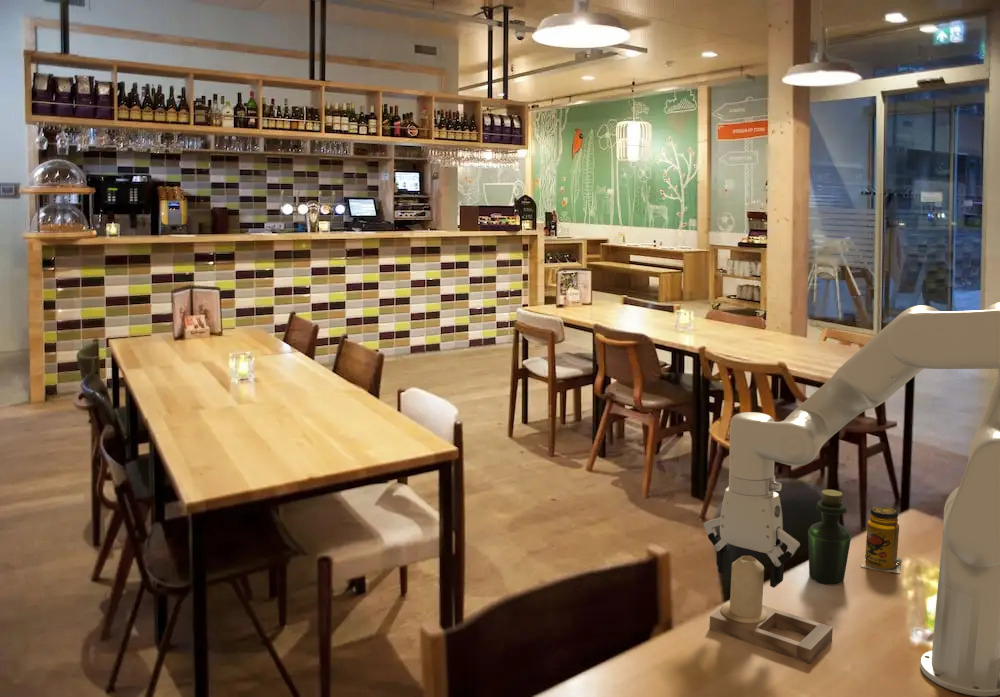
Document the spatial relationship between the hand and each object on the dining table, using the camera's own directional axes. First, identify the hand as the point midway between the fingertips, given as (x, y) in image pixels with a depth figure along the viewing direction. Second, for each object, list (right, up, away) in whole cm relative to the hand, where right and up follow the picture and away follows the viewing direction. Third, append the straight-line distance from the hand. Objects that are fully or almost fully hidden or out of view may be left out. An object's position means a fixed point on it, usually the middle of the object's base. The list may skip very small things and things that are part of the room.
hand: (749, 577), depth 152 cm
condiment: (+36, -5, +29) cm, 46 cm away
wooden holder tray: (+3, -10, -1) cm, 10 cm away
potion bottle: (+22, -6, +21) cm, 31 cm away
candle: (0, -7, +1) cm, 7 cm away
